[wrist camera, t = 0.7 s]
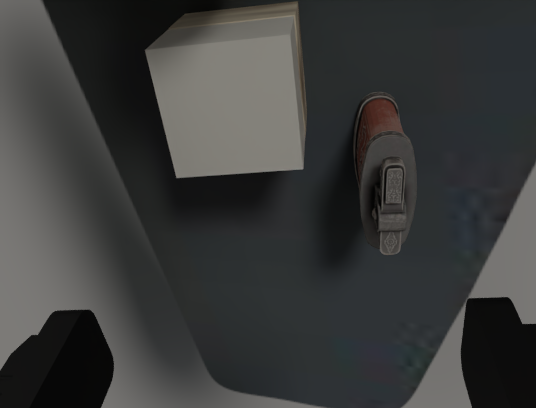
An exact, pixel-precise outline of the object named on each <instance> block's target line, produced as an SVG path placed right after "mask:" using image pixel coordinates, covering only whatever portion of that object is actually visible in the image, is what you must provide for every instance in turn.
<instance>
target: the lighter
mask: <svg viewBox="0 0 536 408" xmlns="http://www.w3.org/2000/svg"><path fill="white" fill-rule="evenodd" d="M353 152H354V166H355V172H356V177H357V181H358V186H359V196H360V210H361V219H362V224H363V228H364V233H365V237H366V240H367V242H368V243H369V244H370V245H371V246H372V247H375V248H378V249H380V251H381V252H382V253H383V254H386V255H393V254H397V253H398V252H399V251H400V246H401V244H402V243H404V241H405V240H406V238H407V235H408V232H409V229H410V226H411V223H412V219H413V215H414V209H415V203H416V197H417V172H416V165H415V158H414V151H413V147H412V145H411V142H410V140H409V138H408V137H407V136H406V135H405V134H404V132H403V130H402V127H401V124H400V118H399V112H398V107H397V104H396V102H395V99H394V98H393V97H392V96H391V95H389V94H387V93H385V92H374V93H371V94H369V95H367V96H365V97H364V98H363V99H362V100H361V102H360V104H359V108H358V112H357V117H356V122H355V128H354V140H353Z"/></svg>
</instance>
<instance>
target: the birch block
mask: <svg viewBox="0 0 536 408" xmlns="http://www.w3.org/2000/svg"><path fill="white" fill-rule="evenodd" d="M288 16H294V23H295V33H296V44H297V55H298V66H299V77H300V88H301V98H302V109H303V120H304V131H305V136H306V120H307V106H306V94H305V82H304V69H303V57H302V45H301V33H300V20H299V8H298V1H297V2H288V3H279V4H269V5H260V6H251V7H242V8H233V9H224V10H215V11H206V12H197V13H187V14H184V15H183V16H182V17H181V18H180V19H179V20H177V21H176V22H175V23H174V24H173V25H172V26H170V27H169V28H168V29H169V30H173V29H181V28H190V27H199V26H208V25H217V24H226V23H235V22H244V21H253V20H262V19H270V18H279V17H288Z"/></svg>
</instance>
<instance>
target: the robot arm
mask: <svg viewBox="0 0 536 408" xmlns="http://www.w3.org/2000/svg"><path fill="white" fill-rule="evenodd" d="M461 364H462V371H463V377H464V381H465V384H466V388H467V391H468V395H469V399H470V402H471V405H472V408H536V324H522V322H521V320H520V318H519V316H518V313H517V311H516V309H515V307H514V305H513V303H512V301H511V300H510V299H509V298H508V297H501V298H469V299H468V300H467V303H466V311H465V319H464V328H463V336H462V345H461ZM113 371H114V361H113V356H112V353H111V351H110V348H109V346H108V344H107V342H106V339H105V337H104V335H103V333H102V330H101V328H100V326H99V324H98V321H97V319H96V317H95V315H94V313H93V312H92V311H91V310H64V311H55V312H53V313H52V314H51V315H50V316H49V318H48V320H47V321H46V323H45V324H44V326H43V328H42V329H41V331H40V333H39V334H38V335H31V336H30V337H29V338H28V339H27V340H26V341H25V342H24V343H23V344H21V345H20V346H19V347H18V348H17V349H16V350H15V351H14V352H13V353H12V354H11V355H10V356H9V358H8V360H7V361H6V363H5V364H4V366H3V367H2V369H1V370H0V408H101V406H102V404H103V401H104V399H105V396H106V394H107V391H108V389H109V387H110V384H111V381H112V378H113Z"/></svg>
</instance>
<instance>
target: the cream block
mask: <svg viewBox="0 0 536 408" xmlns="http://www.w3.org/2000/svg"><path fill="white" fill-rule="evenodd" d="M145 53H146V57H147V61H148V65H149V69H150V73H151V77H152V81H153V85H154V89H155V93H156V97H157V101H158V105H159V109H160V113H161V117H162V121H163V125H164V130H165V134H166V138H167V142H168V146H169V150H170V154H171V158H172V162H173V166H174V170H175V174H176V178H185V177H199V176H213V175H227V174H242V173H256V172H270V171H284V170H299V169H303V165H304V147H305V131H304V120H303V109H302V98H301V88H300V77H299V66H298V55H297V44H296V33H295V23H294V16H288V17H279V18H270V19H262V20H253V21H244V22H235V23H226V24H217V25H208V26H199V27H190V28H181V29H173V30H167V31H166V32H165V33H163V34H162V35H161V36H160V37H159V38H158V39H157V40H156V41H154V42H153V43H152V44H151V45H150V46H149V47H148V48H147V49H146V50H145Z"/></svg>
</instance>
